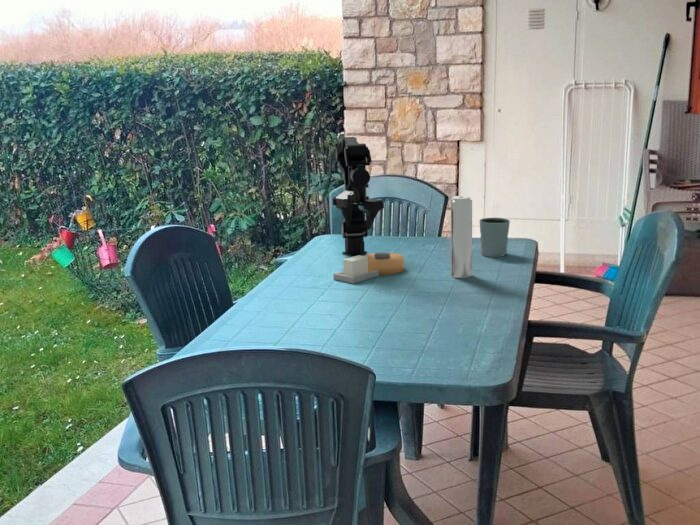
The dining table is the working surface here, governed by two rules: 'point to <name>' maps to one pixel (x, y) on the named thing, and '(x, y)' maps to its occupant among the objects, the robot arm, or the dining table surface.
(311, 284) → the dining table surface
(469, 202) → the white tall cylinder
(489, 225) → the grey plant pot
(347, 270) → the cream rectangular block
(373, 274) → the orange and grey base
